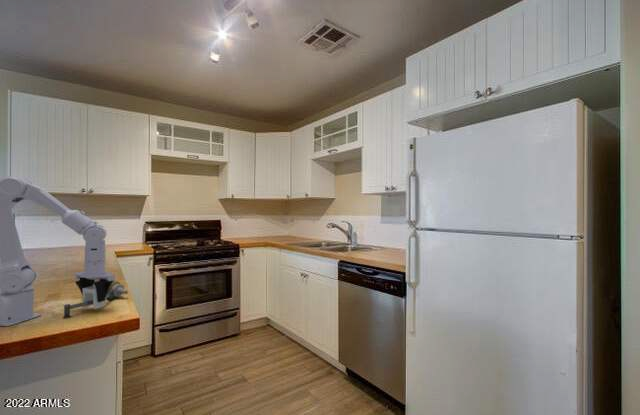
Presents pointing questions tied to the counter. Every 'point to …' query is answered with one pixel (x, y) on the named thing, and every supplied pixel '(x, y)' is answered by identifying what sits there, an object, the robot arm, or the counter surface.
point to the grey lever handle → (83, 304)
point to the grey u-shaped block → (92, 297)
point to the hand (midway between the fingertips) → (94, 300)
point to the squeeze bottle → (116, 288)
